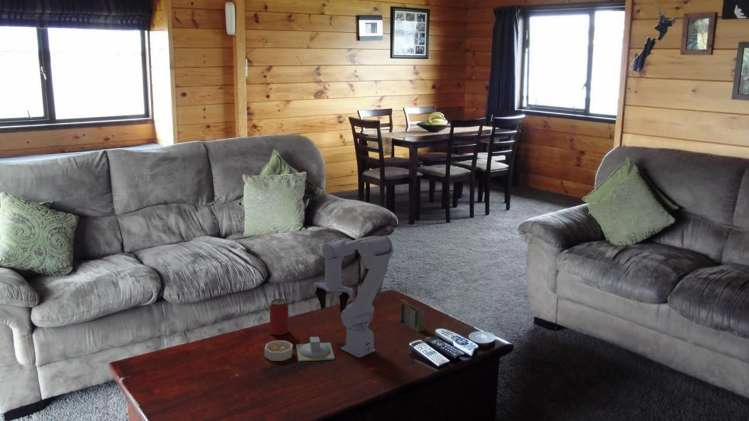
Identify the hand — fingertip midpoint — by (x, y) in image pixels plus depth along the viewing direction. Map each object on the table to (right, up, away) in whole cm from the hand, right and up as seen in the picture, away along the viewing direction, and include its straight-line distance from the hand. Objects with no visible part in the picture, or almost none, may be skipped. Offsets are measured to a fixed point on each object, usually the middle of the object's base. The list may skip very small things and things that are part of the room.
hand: (332, 310), depth 243 cm
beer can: (-20, -9, +3) cm, 22 cm away
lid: (-5, -12, -12) cm, 18 cm away
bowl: (-17, -13, -14) cm, 26 cm away
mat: (-5, -13, -12) cm, 18 cm away
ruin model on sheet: (+29, -8, +11) cm, 32 cm away
